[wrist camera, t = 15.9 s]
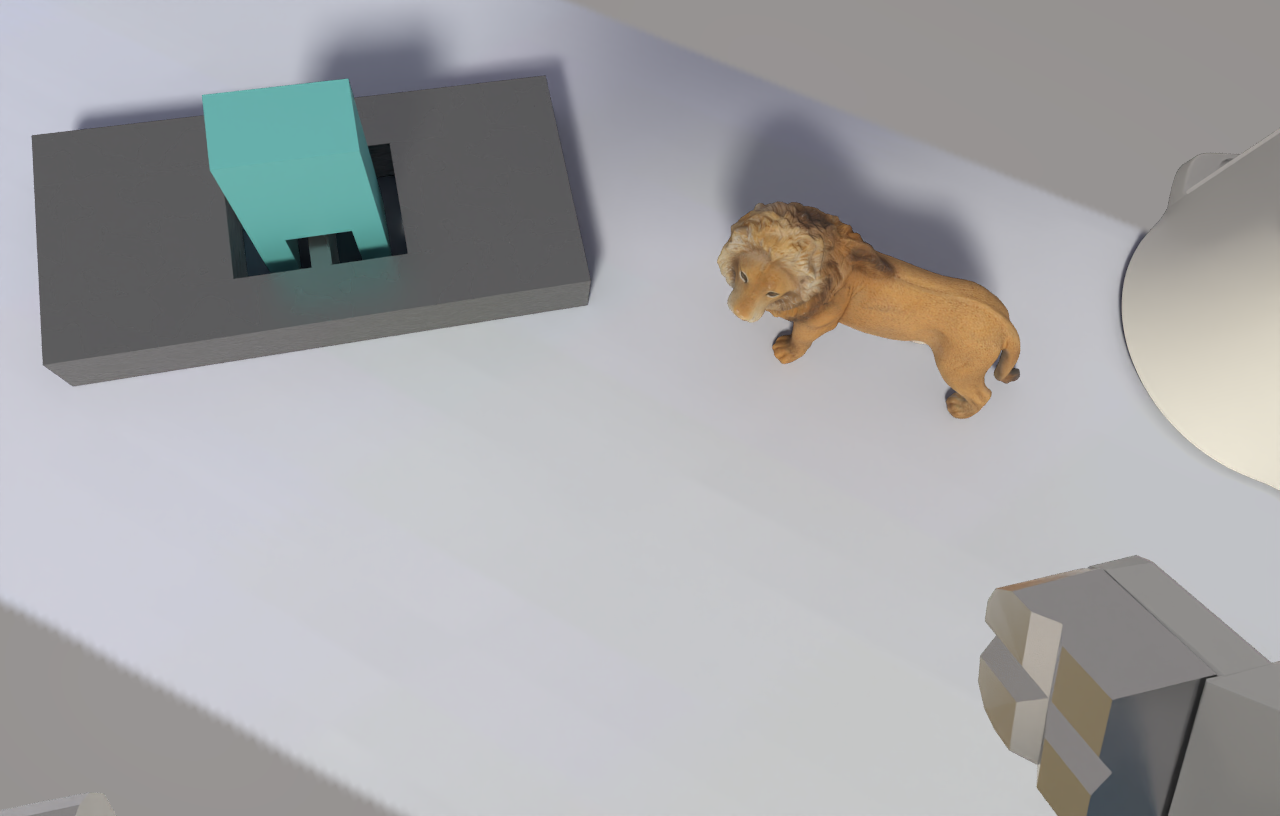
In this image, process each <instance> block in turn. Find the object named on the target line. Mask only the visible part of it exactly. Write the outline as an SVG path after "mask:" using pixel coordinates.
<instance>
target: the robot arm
mask: <svg viewBox="0 0 1280 816" xmlns="http://www.w3.org/2000/svg"><path fill="white" fill-rule="evenodd" d="M1122 320H1123V328H1124V333H1125V338H1126V342H1127V346H1128V350H1129V353H1130V356H1131V359H1132V361H1133V364H1134V366H1135V369H1136V371H1137V373H1138V375H1139V377H1140V379H1141V381H1142V383H1143V385H1144V387H1145V388H1146V390H1147V392H1148V393H1149V395H1150V396H1151V398H1152V400H1153V401H1154V403H1155V404H1156V405H1157V407H1158V408H1159V409H1160V411H1161V412H1162V413H1163V414H1164V416H1165V417H1166V418H1167V419H1168V420H1169V422H1170V423H1171V424H1172V425H1173V426H1174V427H1175V428H1176V429H1177V430H1178V431H1179V432H1180V433H1181V434H1182V435H1183V436H1184V437H1185V438H1186V439H1188V440H1189V441H1190V442H1191V443H1192V444H1193V445H1195V446H1196V447H1197V448H1198V449H1200V450H1201V451H1203V452H1204V453H1205V454H1207V455H1208V456H1210V457H1211V458H1213V459H1214V460H1216V461H1217V462H1219V463H1221V464H1223V465H1224V466H1226V467H1228V468H1230V469H1232V470H1234V471H1236V472H1238V473H1240V474H1243V475H1245V476H1248V477H1250V478H1253V479H1255V480H1258V481H1260V482H1263V483H1265V484H1268V485H1270V486H1272V487H1274V488H1276V489H1278V490H1279V491H1280V128H1279V129H1278V130H1276V131H1275V132H1273V133H1272V134H1270V135H1269V136H1267V137H1266V138H1264V139H1263V140H1261V141H1260V142H1258V143H1257V144H1255V145H1254V146H1252V147H1251V148H1249V149H1248V150H1246V151H1245V152H1243V153H1242V154H1221V153H1203V154H1200V155H1197V156H1195V157H1194V158H1192V159H1191V160H1189V161H1188V162H1187V163H1185V164H1183V165H1182V166H1181V167H1180V168H1179V169H1178V171H1177V173H1176V175H1175V178H1174V181H1173V185H1172V188H1171V193H1170V197H1169V202H1168V208H1167V209H1166V211H1165V213H1164V215H1163V216H1162V217H1161V219H1160V220H1159V221H1158V222H1157V223H1156V225H1155V226H1154V227H1153V228H1152V229H1151V230H1150V231H1149V232H1148V233H1147V235H1146V236H1145V237H1144V238H1143V240H1142V241H1141V242H1140V244H1139V245H1138V247H1137V249H1136V250H1135V252H1134V254H1133V256H1132V258H1131V261H1130V263H1129V266H1128V269H1127V272H1126V276H1125V280H1124V285H1123V293H1122ZM985 622H986V623H987V624H988V626H989V627H990V628H991V629H992V630H993V632H994V633H995V634H996V636H995V638H994V639H993V640H992V642H991V643H990V644H989V645H988V647H987V648H986V649H985V650H984V652H983V653H982V654H981V656H980V666H979V678H978V683H979V687H980V692H981V696H982V700H983V705H984V709H985V711H986V713H987V715H988V717H989V719H990V721H991V723H992V725H993V728H994V730H995V731H996V732H997V734H998V735H999V737H1000V738H1001V739H1002V741H1003V742H1004V744H1005V745H1006V747H1007V748H1008V749H1009V751H1011V752H1013V753H1015V754H1017V755H1019V756H1021V757H1023V758H1025V759H1027V760H1029V761H1031V762H1033V763H1035V764H1037V789H1038V790H1039V791H1040V793H1041V794H1042V795H1043V797H1044V798H1045V799H1046V801H1047V802H1048V803H1049V805H1050V806H1051V807H1052V809H1053V810H1054V811H1055V813H1056V814H1057V815H1058V816H1280V661H1278V662H1274V663H1271V662H1270V661H1269V660H1268V659H1266V658H1265V657H1264V656H1263V655H1262V654H1261V653H1259V652H1258V651H1257V650H1256V649H1255V648H1254V647H1252V646H1251V645H1250V644H1249V643H1248V642H1246V641H1245V640H1244V639H1243V638H1242V637H1241V636H1239V635H1238V634H1237V633H1236V632H1235V631H1234V630H1232V629H1231V628H1230V627H1229V626H1228V625H1226V624H1225V623H1224V622H1223V621H1222V620H1221V619H1219V618H1218V617H1217V616H1216V615H1215V614H1214V613H1212V612H1211V611H1210V610H1209V609H1208V608H1206V607H1205V606H1204V605H1203V604H1202V603H1201V602H1199V601H1198V600H1197V599H1196V598H1195V597H1194V596H1192V595H1191V594H1190V593H1189V592H1188V591H1186V590H1185V589H1184V588H1183V587H1182V586H1181V585H1179V584H1178V583H1177V582H1176V581H1175V580H1174V579H1172V578H1171V577H1170V576H1169V575H1168V574H1166V573H1165V572H1164V571H1163V570H1162V569H1161V568H1159V567H1158V566H1157V565H1156V564H1155V563H1154V562H1152V561H1150V560H1148V559H1145V558H1142V557H1140V556H1137V555H1135V556H1131V557H1126V558H1122V559H1118V560H1114V561H1110V562H1105V563H1101V564H1097V565H1093V566H1090V567H1088V568H1081V569H1077V570H1073V571H1068V572H1064V573H1060V574H1055V575H1051V576H1047V577H1043V578H1038V579H1034V580H1030V581H1026V582H1021V583H1017V584H1013V585H1009V586H1004V587H1000V588H996V589H995V590H994V592H993V593H992V595H991V596H990V598H989V599H988V602H987V609H986V616H985ZM0 816H116V814H115V812H114V810H113V809H112V807H111V805H110V803H109V801H108V800H107V798H106V796H105V794H103V793H94V792H89V793H84V794H79V795H74V796H69V797H64V798H59V799H54V800H49V801H44V802H39V803H34V804H29V805H24V806H19V807H14V808H9V809H4V810H0Z"/></svg>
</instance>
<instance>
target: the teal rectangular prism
mask: <svg viewBox="0 0 1280 816" xmlns="http://www.w3.org/2000/svg"><path fill="white" fill-rule="evenodd" d="M202 101H203V110H204V120H205V129H206V139H207V148H208V158H209V167H210V171H211V173H212V175H213V176H214V178H215V180H216V181H217V183H218V185H219V187H220V188H221V190H222V192H223V193H224V195H225V197H226V198H227V200H228V202H229V204H230V205H231V207H232V209H233V210H234V212H235V214H236V215H237V217H238V219H239V220H240V222H241V224H242V226H243V227H244V229H245V231H246V232H247V234H248V236H249V237H250V239H251V241H252V243H253V244H254V246H255V248H256V249H257V251H258V253H259V254H260V256H261V258H262V259H263V261H264V263H265V265H266V266H267V268H268V270H269V271H270V273H278V272H285V271H292V270H299V269H301V261H300V254H299V246H298V238H304V237H311V236H318V235H326V234H333V233H340V232H347V231H352V232H353V235H354V238H355V240H356V243H357V246H358V248H359V251H360V254H361V257H362V259H363V260H368V259H375V258H382V257H389V256H392V254H391V248H390V241H389V235H388V229H387V223H386V216H385V210H384V204H383V198H382V195H381V191H380V188H379V184H378V181H377V177H376V174H375V170H374V167H373V163H372V160H371V156H370V153H369V149H368V146H367V142H366V139H365V135H364V132H363V128H362V124H361V121H360V117H359V114H358V110H357V107H356V103H355V100H354V96H353V93H352V89H351V86H350V82H349V79H340V80H331V81H323V82H314V83H305V84H296V85H287V86H278V87H269V88H260V89H252V90H243V91H234V92H225V93H216V94H207V95H202Z"/></svg>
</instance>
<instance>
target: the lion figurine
mask: <svg viewBox="0 0 1280 816" xmlns="http://www.w3.org/2000/svg"><path fill="white" fill-rule="evenodd" d="M717 263H718V265H719V268H720V271H721V274H722V275H723V276H724V277H726V281H727V283H728V284H729V285H730V286H731V287H732V288H733V291H732V292H731V294H730V296H729V298H728V302H727V304H728V307H729V309H730V310H731V311H732V312H733V313H734V314H735V315H736V316H737V317H738V318H740V319H742V320H744V321H747V322H750V323H752V322H756V321H758V320H759V319H760V318H761V317H762V315H763V314H764V312H765V310H766V311H769V312H770V313H771V314H772V315H773V316H774V317H782V318H784V319H786V320H788V321H793V322H794V325H793V331H792V333H791V335H784V336H780V337H778V338H777V340H776V343H775V344H774V345H773V347H772V349H773V351H774V355H775V357H776V358H777V359H779V361H780V362H781V363H782V364H786V363H790V362H793V361H794V360H796V359H798V358H800V357H801V356H803V355H804V354H805V352H806V351H807V349H808V348H809V347H810V346H811V344H812V342H813V341H814V340H816V339H817V338H818V337H820V336H821V335H823V334H824V333H826V332H828V331H831V330H833V329H834V328H835V327H836V326H837V324H838V322H840V323H842V324H844V325H847V326H849V327H852V328H854V329H856V330H859V331H862V332H864V333H868V334H872V335H876V336H880V337H884V338H888V339H894V340H901V341H912V342H915V343H918V344H927V345H929V346H930V347H931V349H932V351H933V353H934V357H935V362H936V365H937V367H938V369H939V371H940V374H941V376H942V378H943V379H944V381H945V382H946V383H947V384H948V385H949V386H950V387H951V388H952V389H954V390H955V391H956V392H955V393H953V394H952V395H951V396H950V397H948V398H947V400H946V403H947V409H948V411H949V412H950V414H951V415H952V416H953V417H955V418H961V419H963V418H969V417H971V416H973V415H974V414H976V413H977V412H978V411H979V410H980V409H981V408H982V407H983V406H984V405H985V404H986V403H987V402H988V400H989V399H990V397H991V393H992V392H991V390H990V389H988V388H987V387H986V386H985V383H984V376H985V374H986V372H987V370H988V369H989V368H990V367H991V366H992V364H993V363H994V362H995V361H996V359H997V358H998V356H999V354H1000V352H1001V350H1002V353H1001V356H1000V360H999V362H998V364H997V366H996V369H995V370H994V376H995V378H996V379H997V380H999V381H1002V382H1004V383H1009V382H1011V381H1015V380H1017V379H1018V378H1019V377H1020V371H1019V369H1016V368H1013V367H1014V366H1015V364H1016V362H1017V360H1018V357H1019V354H1020V339H1019V335H1018V333H1017V330H1016V329H1015V327H1014V326H1013V324H1012V323H1011V322H1010V320H1009V313H1008V310H1007V309H1006V307H1005V306H1004V304H1003V303H1002V302H1001V301H1000V300H999V299H998V298H997V297H996V296H995V295H994V294H992V293H991V292H990V291H988V290H987V289H986V288H984V287H983V286H981V285H979V284H977V283H975V282H972V281H968V280H964V279H958V278H952V277H947V276H942V275H939V274H936V273H933V272H930V271H928V270H925V269H922V268H919V267H917V266H914V265H912V264H909V263H907V262H904V261H902V260H899V259H896V258H894V257H891V256H888V255H885V254H882V253H880V252H877V251H875V250H874V249H873V247H872V246H871V245H870V244H868V243H866V242H863V240H862V238H861V236H860V234H858V233H854V232H853V230H852V227H851V226H850V225H847V224H844V223H842V222H841V221H839V218H838V217H837V216H833V215H830V214H825V213H824V212H821V211H820V210H819V209H817V208H814V207H810V206H803V205H802V204H800V203H797V202H791V203H789V204H786V203H783V202H775V203H772V204H767V205H764V204H763V203H758V204H757V205H756V206H755V208H754V210H753V211H750V212H749V213H747V214H746V215H745V216H743V217H741V218H740V219H739V221H738V222H737V223H735V224H733V225H732V226H731V237H730V239H729V240H728V242H727V243H726V244H725V245H724V246H723V249H722V251H721V254H720V255H719V257H718V260H717Z"/></svg>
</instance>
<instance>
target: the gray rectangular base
mask: <svg viewBox="0 0 1280 816" xmlns="http://www.w3.org/2000/svg"><path fill="white" fill-rule="evenodd" d="M354 100H355V103H356V107H357V110H358V114H359V117H360V121H361V124H362V128H363V132H364V135H365V139H366V142H367V146H368V149H369V153H370V156H371V160H372V163H373V167H374V170H375V174H376V177H382V176H390V175H395V179H396V185H397V191H398V197H399V203H400V209H401V215H402V221H403V227H404V233H405V239H406V245H407V251H408V254H403V255H396V256H389V257H382V258H375V259H368V260H361V261H354V262H347V263H340V262H339V255H338V248H337V241H336V234H335V233H333V234H326V235H318V236H311V237H308V244H309V251H310V258H311V266H312V268H306V269H299V270H292V271H285V272H278V273H271V274H264V275H257V276H250V277H248V274H247V265H246V257H245V248H244V239H243V230H242V224H241V222H240V220H239V219H238V217H237V215H236V214H235V212H234V210H233V209H232V207H231V205H230V204H229V202H228V200H227V198H226V197H225V195H224V193H223V192H222V190H221V188H220V187H219V185H218V183H217V181H216V180H215V178H214V176H213V175H212V173H211V171H210V167H209V158H208V148H207V139H206V129H205V120H204V115H203V116H194V117H186V118H177V119H168V120H160V121H151V122H143V123H134V124H126V125H117V126H108V127H100V128H91V129H83V130H74V131H66V132H57V133H48V134H40V135H32V151H33V172H34V192H35V213H36V233H37V254H38V274H39V295H40V315H41V336H42V356H43V365H44V366H45V367H46V368H48V369H49V370H51V371H52V372H53V373H55V374H56V375H58V376H59V377H60V378H62V379H63V380H65V381H66V382H67V383H69V384H70V385H72V386H78V385H85V384H91V383H97V382H104V381H110V380H116V379H123V378H129V377H135V376H142V375H148V374H154V373H161V372H167V371H173V370H180V369H186V368H192V367H199V366H205V365H211V364H218V363H224V362H230V361H237V360H243V359H249V358H256V357H262V356H268V355H275V354H281V353H287V352H294V351H300V350H306V349H313V348H319V347H325V346H332V345H338V344H344V343H351V342H357V341H363V340H369V339H376V338H382V337H388V336H395V335H401V334H407V333H414V332H420V331H426V330H433V329H439V328H445V327H452V326H458V325H464V324H471V323H477V322H483V321H490V320H496V319H502V318H509V317H515V316H521V315H528V314H534V313H540V312H547V311H553V310H559V309H566V308H572V307H578V306H585V305H587V304H588V297H589V290H590V284H591V279H590V274H589V270H588V265H587V261H586V256H585V252H584V247H583V243H582V238H581V234H580V229H579V225H578V220H577V216H576V211H575V207H574V202H573V198H572V193H571V188H570V184H569V179H568V175H567V170H566V166H565V161H564V157H563V152H562V148H561V143H560V139H559V134H558V130H557V125H556V121H555V116H554V112H553V107H552V103H551V98H550V94H549V89H548V84H547V80H546V76H537V77H528V78H520V79H511V80H503V81H494V82H486V83H477V84H468V85H460V86H451V87H443V88H434V89H426V90H417V91H408V92H400V93H391V94H383V95H374V96H366V97H357V98H354Z"/></svg>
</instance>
